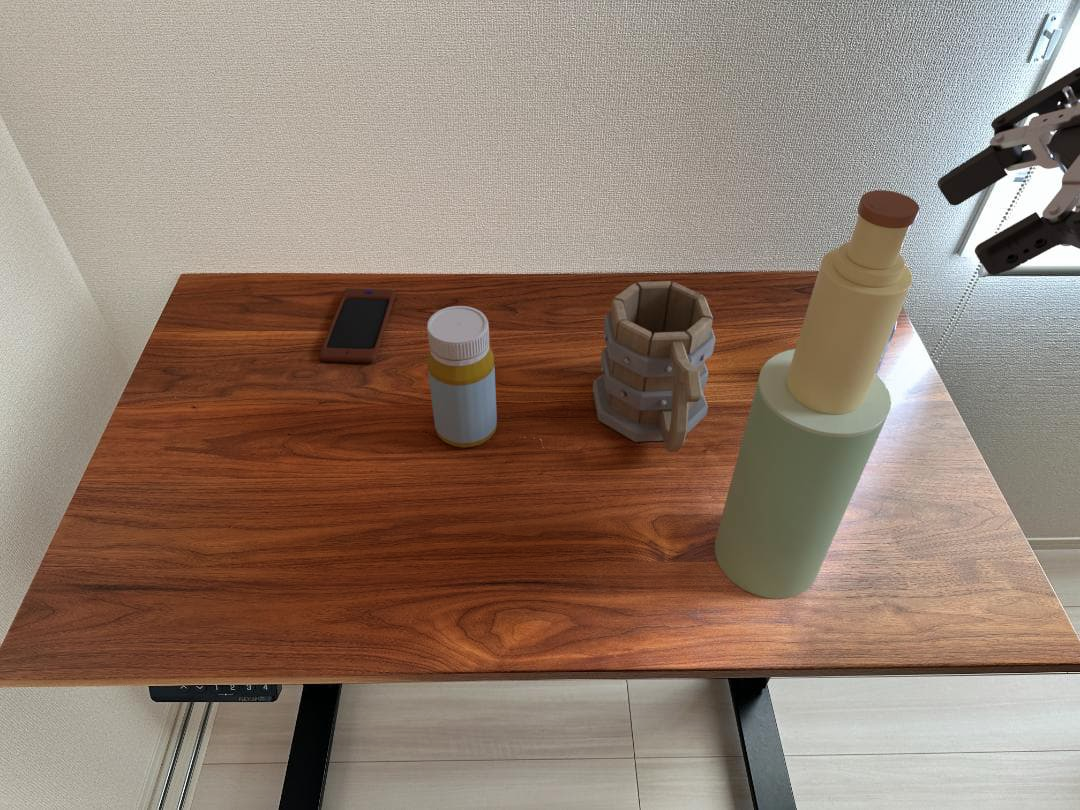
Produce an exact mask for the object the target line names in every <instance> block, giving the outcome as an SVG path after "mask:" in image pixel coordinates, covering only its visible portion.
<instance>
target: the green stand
mask: <svg viewBox="0 0 1080 810" xmlns="http://www.w3.org/2000/svg"><path fill="white" fill-rule="evenodd" d="M795 349H796V348H793V349H788V350H785V351H781V352H779V353H777V354H775V355H773V356H771V358H769V359H768V360H767V361H766V362H765V363H764V364H763V366H762V367H761V369H760V371H759V375H758V380H757V382H756V385H755V386H756V387H755V390H754V394H753V398H752V402H751V405H750V409H749V412H748V415H747V416H748V417H747V419H746V424H745V428H744V431H743V436H742V439H741V443H740V446H739V450H738V453H737V458H736V461H735V465H734V469H733V473H732V475H731V480H730V484H729V487H728V491H727V495H726V499H725V502H724V506H723V510H722V513H721V517H720V522H719V525H718V528H717V533H716V535H715V540H714V555H715V558H716V562H717V564H718V566H719V567H720V569H721V571H722V572H723V574H724V575H725V576H726V577H727V578H728V580H730V581H731V582H732V583H733V584H735V585H736V586H737V587H739V588H741V589H742V590H743V591H746V592H747V593H750V594H752V595H755V596H758V597H762V598H765V599H766V598H767V599H777V600H778V599H780V600H782V599H790V598H793V597H796V596H798V595H801V594H802V593H804V592H806V591H807V590H808V589H809V588H810V587H812V585H813V584H814V583H815V581H816V580H817V577H818V575H819V573H820V570H821V568H822V566H823V565H824V564H823V563H824V561H825V559H826V557H827V555H828V552H829V550H830V548H831V545H832V543H833V541H834V538H835V536H836V534H837V532H838V529H839V527H840V525H841V523H842V520H843V518H844V516H845V514H846V512H847V509H848V507H849V505H850V503H851V499H852V498H853V495H854V493H855V491H856V488H857V486H858V484H859V482H860V480H861V477H862V476H863V472H864V470H865V468H866V466H867V463H868V462H869V459H870V457H871V454H872V453H873V450H874V447H875V445H876V443H877V441H878V439H879V437H880V434H881V432H882V430H883V427H884V426H885V425H884V424H885V423H886V421H887V417H888V416H889V413H890V410H891V407H892V406H891V405H892V400H891V399H892V397H891V394H890V390H889V388H888V387H887V385H886V384H885V382H884V380H883V379H882V378H881V377H880V376H879V375H878V373H877V374H876V373H875V376H874V378H873V381H872V383H871V386H870V388H869V391H868V393H867V395H866V398H865V400H864V403H863V404H862V405H861V406H860V407H859V408H858V409H856V410H854V411H852V412H849V413H845V414H826V413H821V412H818V411H815V410H812V409H810V408H808V407H806V406H804V405H802V404H801V403H799V402H798V401H797V400H796V399H795V398H794V397H793V396H792V395H791V394H790V392H789V390H788V388H787V383H786V379H787V375H788V372H789V369H790V365H791V362H792V359H793V355H794V352H795Z"/></svg>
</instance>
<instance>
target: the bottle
mask: <svg viewBox="0 0 1080 810" xmlns="http://www.w3.org/2000/svg"><path fill="white" fill-rule="evenodd" d="M426 330H427V340H428V345H429V351H428V355H427V358H426V359H427V361H426V362H427V363H426V365H427V372H428V373H427V374H428V382H429V390H430V391H429V392H430V398H431V406H432V415H433V423H434V428H435V429H434V430H435V432H436V434H437V436H438V438H440V439H441V441H443V442H444V443H446V444H448V445H450V446H453V447H456V448H461V449H465V448H466V449H467V448H474V447H477V446H480V445H482V444H483V443H485V442H487V441H488V440H490V438H491V437H493V436H494V434H495V432H496V431H497V427H498V415H497V413H498V412H497V393H496V392H497V391H496V370H495V356H494V352H493V351H492V348H491V346H490V328H489V320H488V318H487V317H486V314H484V313H483V312H482V311H481V310H479V309H477V308H474V307H471V306H465V305H453V306H447V307H444V308H442V309H440V310H438V311H436V312H435V313H433V314H432V315H431V316H430V318H429V319H428V320H427V325H426Z"/></svg>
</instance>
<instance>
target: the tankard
mask: <svg viewBox="0 0 1080 810" xmlns="http://www.w3.org/2000/svg"><path fill="white" fill-rule="evenodd" d="M713 321H714V317H713V314H712V312H711V308H710V307H709V303H708V301H707V299H706V297H705V296H704V295H703V294H701V293H700V292H698V291H695V290H693V289H690V288H689V287H686V286H684V285H682V284H680V283H678V282H675V281H672V283H671V281H670V280H663V281H662V280H660V281H658V280H657V281H637V282H636V283H635V282H634V283H632V284H631V285H630V286H628V287H627V288H625V289H624V290H622V291H621V292H620V293H618V294H617V295H616V296H614V297H613V298H612V300H611V305H610V312H609V313H607V314H606V315H605V316H604V321H603V340H604V341H605V346H606V347H605V348H603V349H602V350H601V357H600V367H601V369H600V372H601V375H600V376H598V377H597V378H596V379H595V380H593V382H592V393H593V398H594V404H595V409H596V410H595V411H596V416H597V420H598V421H599V422H601V423H602V424H604V425H605V426H607V427H609V428H610V429H612V430H614V431H616V432H618V433H620V434H621V435H623V436H624V437H626V438H627V439H629V440H631V441H633V442H635V443H639V442H641V443H642V442H660V441H661V442H662V441H663V443H664V446H665V449H666V451H667V452H668V453H678V452H679V450H681V449H682V447H683V446H684V444H685V443H686V437H687V435H688V434H689V433H690V432H691V431H692V430H693V429H694V428H695V427H696V426H697V425H698V424H699V423H700V422H701V421H703V419H704V418H705V417H706V416H707V413H708V410H709V406H708V403H707V399H706V397H705V394H704V390H705V389H706V387H707V381H708V378H709V372H708V369H707V365H706V363H705V362H706V360H708V359H709V358H710V357H712V355H713V353H714V348H715V345H716V337H715V336H716V335H715V334H714V330H713V328H712V327H713Z"/></svg>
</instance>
